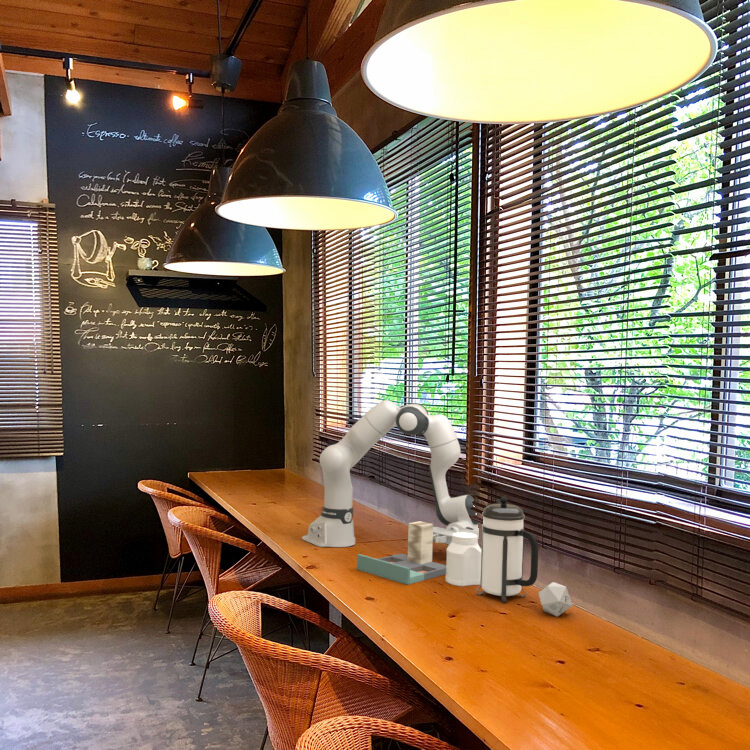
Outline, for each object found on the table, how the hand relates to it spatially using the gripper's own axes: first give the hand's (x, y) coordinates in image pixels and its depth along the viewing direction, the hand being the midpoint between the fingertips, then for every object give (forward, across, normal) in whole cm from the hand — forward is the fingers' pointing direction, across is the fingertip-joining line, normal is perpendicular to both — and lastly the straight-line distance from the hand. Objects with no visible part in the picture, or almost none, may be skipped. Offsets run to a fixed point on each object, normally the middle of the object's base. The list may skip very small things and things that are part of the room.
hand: (432, 539), depth 247 cm
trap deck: (+15, 0, +8) cm, 17 cm away
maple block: (+7, 0, +6) cm, 9 cm away
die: (+14, +57, +9) cm, 59 cm away
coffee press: (+12, +39, +9) cm, 41 cm away
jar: (+9, +21, +9) cm, 24 cm away
